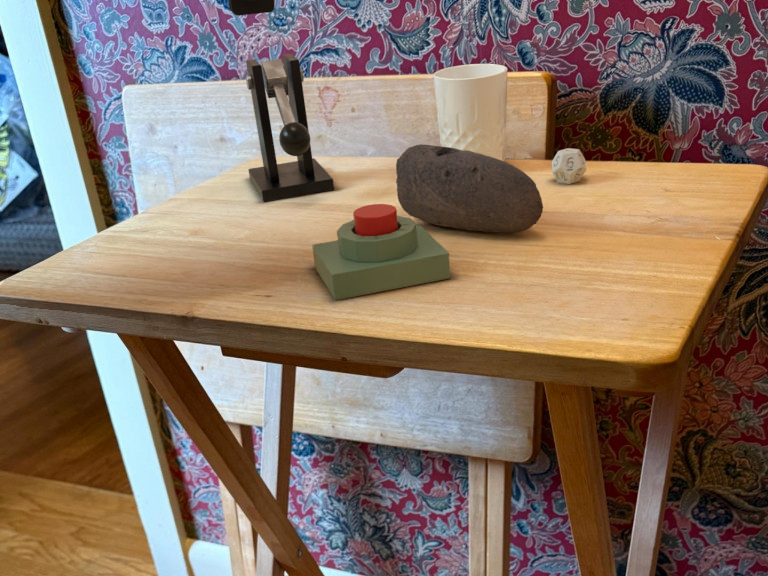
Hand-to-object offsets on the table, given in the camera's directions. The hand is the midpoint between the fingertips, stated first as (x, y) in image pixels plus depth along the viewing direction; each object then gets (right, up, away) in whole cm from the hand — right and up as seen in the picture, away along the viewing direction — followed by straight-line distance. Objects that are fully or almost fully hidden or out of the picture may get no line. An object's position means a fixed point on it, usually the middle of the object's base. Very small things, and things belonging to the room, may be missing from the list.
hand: (252, 12), depth 67 cm
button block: (+10, -17, +10) cm, 22 cm away
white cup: (+20, +2, +33) cm, 39 cm away
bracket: (-1, +1, +34) cm, 35 cm away
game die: (+29, -2, +27) cm, 40 cm away
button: (+9, -14, +8) cm, 18 cm away
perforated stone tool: (+18, -11, +17) cm, 27 cm away
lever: (-1, +5, +28) cm, 28 cm away
